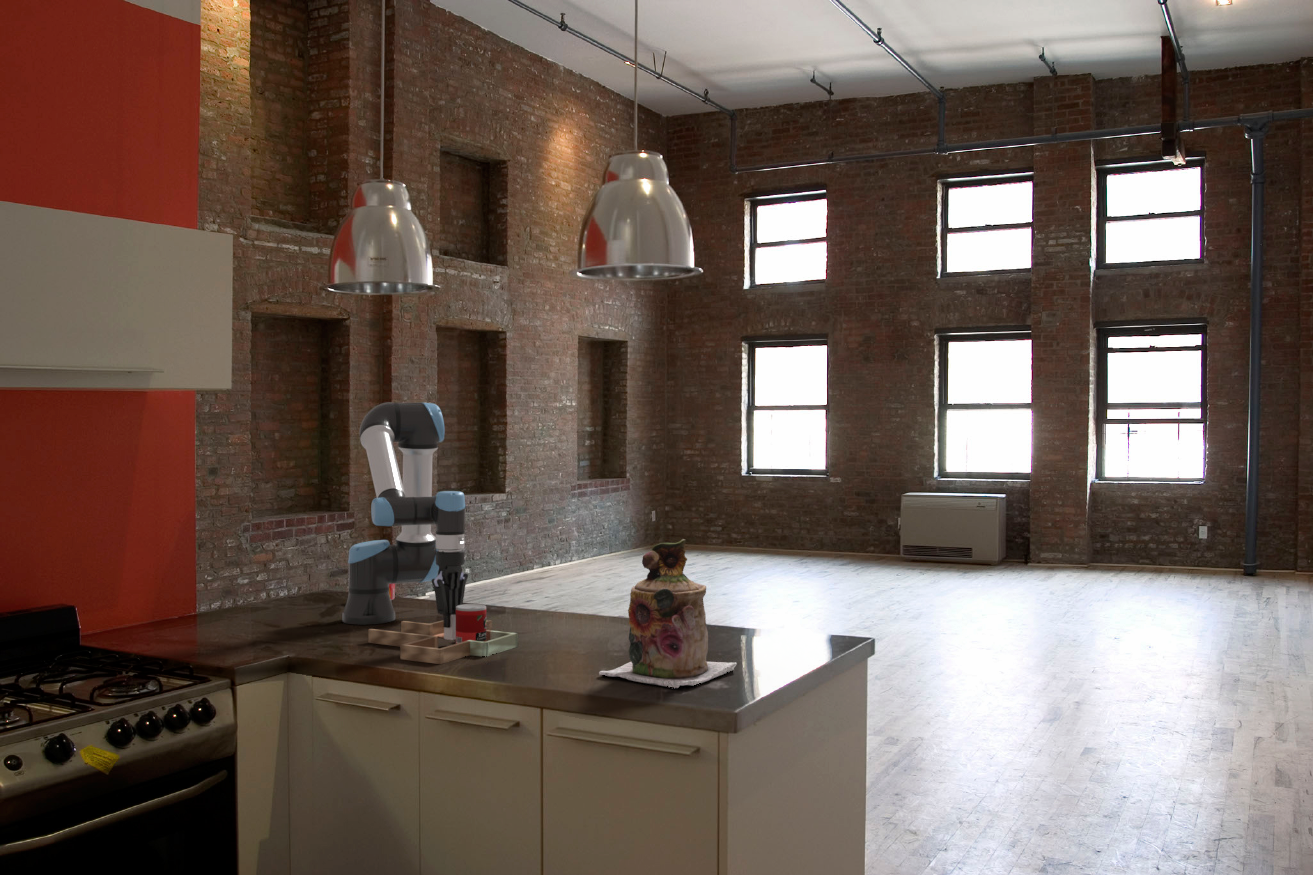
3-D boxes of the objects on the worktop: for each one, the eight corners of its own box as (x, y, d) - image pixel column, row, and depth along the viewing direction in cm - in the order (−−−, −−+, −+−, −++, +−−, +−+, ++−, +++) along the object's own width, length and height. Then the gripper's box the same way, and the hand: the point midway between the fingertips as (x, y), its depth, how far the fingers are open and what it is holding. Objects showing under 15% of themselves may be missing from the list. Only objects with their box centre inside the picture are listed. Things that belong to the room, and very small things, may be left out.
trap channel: (336, 650, 284) (336, 637, 284) (431, 626, 318) (431, 614, 318) (456, 666, 267) (456, 651, 267) (542, 638, 301) (542, 625, 301)
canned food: (481, 651, 284) (482, 609, 283) (451, 650, 284) (451, 608, 284) (489, 645, 291) (490, 604, 291) (460, 644, 292) (460, 603, 292)
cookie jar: (654, 659, 276) (655, 531, 276) (740, 672, 263) (741, 537, 262) (594, 677, 256) (595, 539, 255) (684, 692, 242) (685, 547, 242)
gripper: (446, 553, 283) (446, 645, 284) (476, 548, 295) (476, 636, 296) (423, 551, 287) (422, 642, 287) (453, 546, 298) (453, 633, 299)
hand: (449, 639), depth 291 cm, fingers closed
